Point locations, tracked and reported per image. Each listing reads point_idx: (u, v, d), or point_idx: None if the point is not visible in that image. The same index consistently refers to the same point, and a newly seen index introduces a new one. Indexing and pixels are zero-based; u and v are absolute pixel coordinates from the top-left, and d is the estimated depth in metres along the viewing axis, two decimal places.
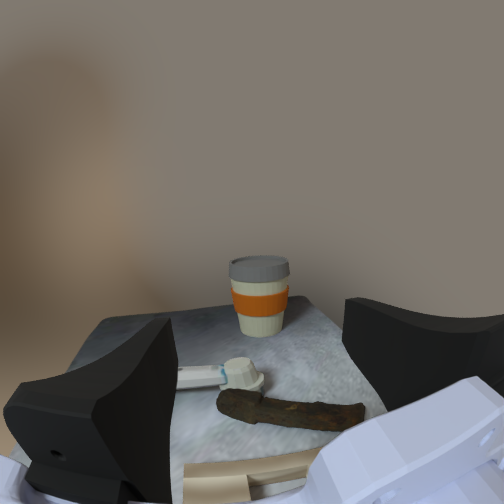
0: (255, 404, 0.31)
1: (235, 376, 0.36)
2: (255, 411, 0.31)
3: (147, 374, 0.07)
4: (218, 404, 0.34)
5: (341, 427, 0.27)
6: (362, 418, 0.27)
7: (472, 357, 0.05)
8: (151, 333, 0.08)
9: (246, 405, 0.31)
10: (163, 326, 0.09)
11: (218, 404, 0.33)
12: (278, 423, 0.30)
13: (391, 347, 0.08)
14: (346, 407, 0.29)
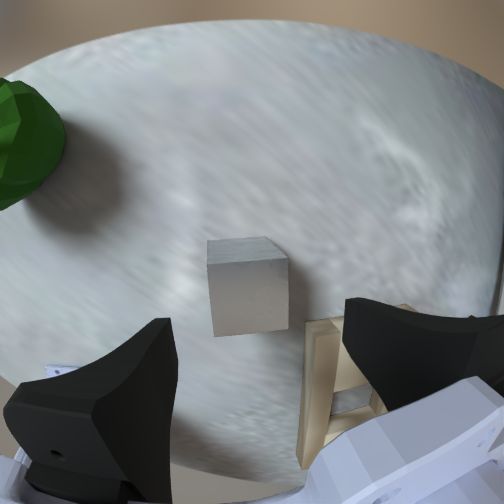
0: None
1: None
2: None
3: (147, 374, 0.07)
4: None
5: None
6: None
7: (472, 358, 0.05)
8: (151, 333, 0.08)
9: None
10: (163, 326, 0.09)
11: None
12: None
13: (391, 347, 0.08)
14: None
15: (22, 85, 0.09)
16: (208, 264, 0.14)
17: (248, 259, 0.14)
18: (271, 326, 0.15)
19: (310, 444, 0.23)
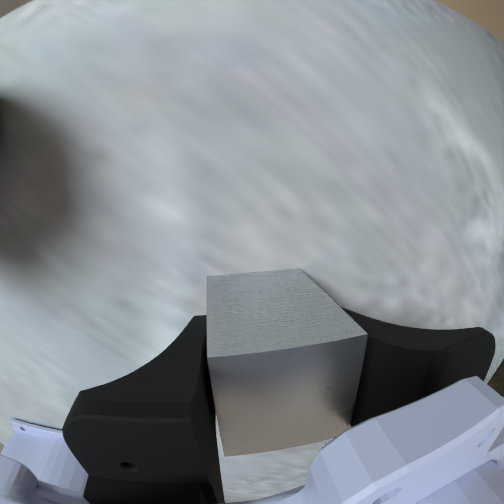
0: None
1: None
2: None
3: (204, 372, 0.07)
4: None
5: None
6: None
7: (427, 379, 0.04)
8: (199, 330, 0.09)
9: None
10: None
11: None
12: None
13: None
14: None
15: None
16: (210, 357, 0.06)
17: (292, 342, 0.07)
18: (321, 435, 0.07)
19: None
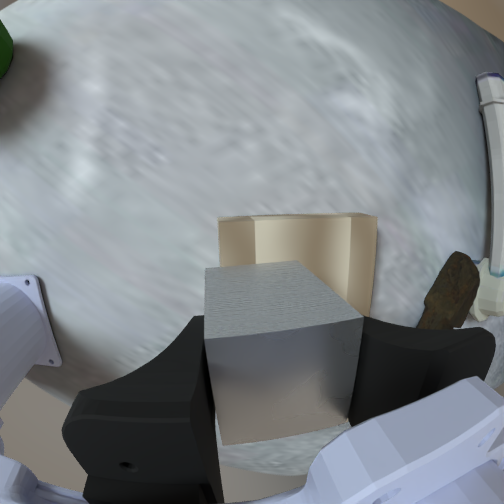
0: (448, 320, 0.19)
1: (494, 290, 0.19)
2: (439, 316, 0.20)
3: (203, 372, 0.07)
4: (461, 257, 0.20)
5: None
6: None
7: (428, 378, 0.04)
8: (199, 330, 0.09)
9: (450, 307, 0.19)
10: None
11: (462, 258, 0.20)
12: None
13: None
14: None
15: None
16: (207, 338, 0.06)
17: (288, 324, 0.07)
18: (320, 423, 0.08)
19: None
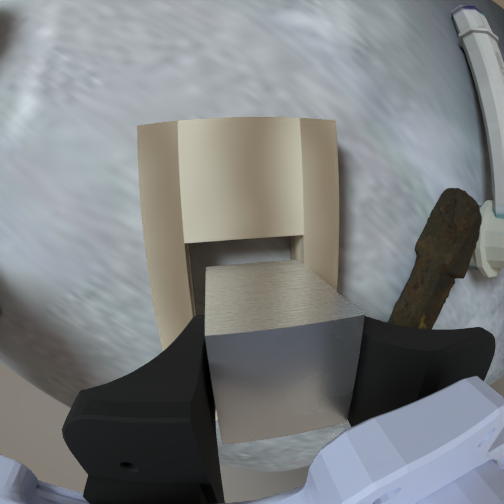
0: (446, 266, 0.15)
1: (503, 234, 0.15)
2: (434, 262, 0.16)
3: (204, 372, 0.07)
4: (455, 192, 0.17)
5: None
6: None
7: (427, 379, 0.04)
8: (199, 330, 0.09)
9: (447, 249, 0.15)
10: None
11: (456, 193, 0.16)
12: (405, 292, 0.18)
13: None
14: None
15: None
16: (208, 335, 0.06)
17: (289, 322, 0.07)
18: (320, 422, 0.08)
19: None
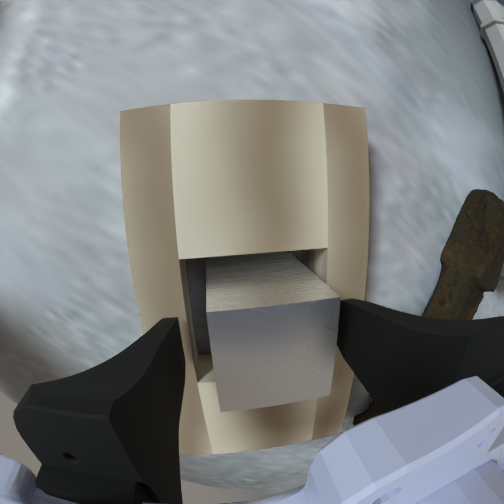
0: (477, 280, 0.12)
1: None
2: (464, 275, 0.13)
3: (158, 374, 0.07)
4: (483, 194, 0.14)
5: None
6: None
7: (464, 362, 0.05)
8: (160, 333, 0.08)
9: (478, 260, 0.12)
10: (172, 325, 0.09)
11: (484, 195, 0.13)
12: (430, 309, 0.15)
13: (384, 349, 0.08)
14: None
15: None
16: (209, 312, 0.08)
17: (275, 301, 0.08)
18: (306, 394, 0.09)
19: None
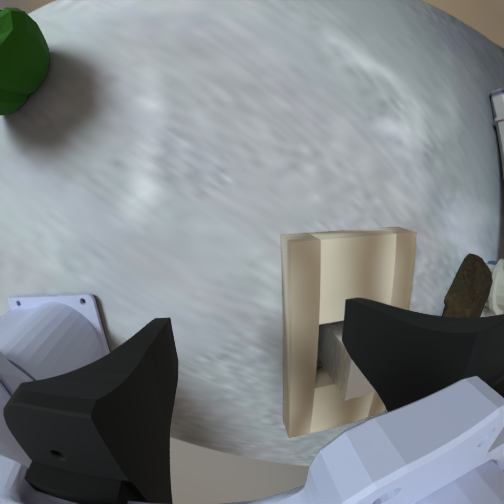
0: (466, 317, 0.21)
1: None
2: (458, 314, 0.22)
3: (147, 374, 0.07)
4: (475, 260, 0.22)
5: None
6: None
7: (471, 358, 0.05)
8: (151, 333, 0.08)
9: (467, 306, 0.21)
10: (163, 326, 0.09)
11: (475, 261, 0.22)
12: None
13: (391, 347, 0.08)
14: None
15: (18, 9, 0.07)
16: None
17: None
18: None
19: (297, 400, 0.21)
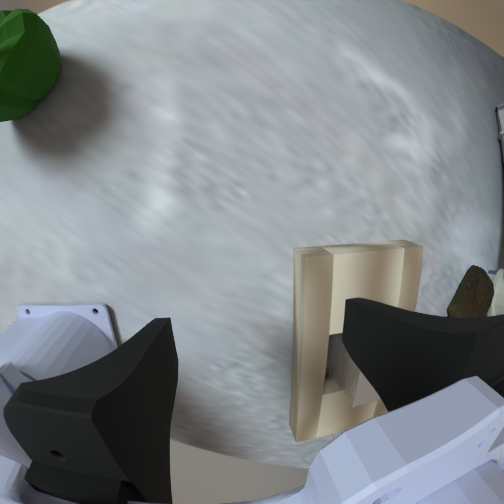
0: None
1: None
2: None
3: (147, 374, 0.07)
4: (478, 271, 0.22)
5: None
6: None
7: (472, 358, 0.05)
8: (151, 333, 0.08)
9: (469, 316, 0.21)
10: (163, 326, 0.09)
11: (478, 272, 0.22)
12: None
13: (391, 347, 0.08)
14: None
15: (29, 10, 0.08)
16: None
17: None
18: None
19: (305, 406, 0.21)
